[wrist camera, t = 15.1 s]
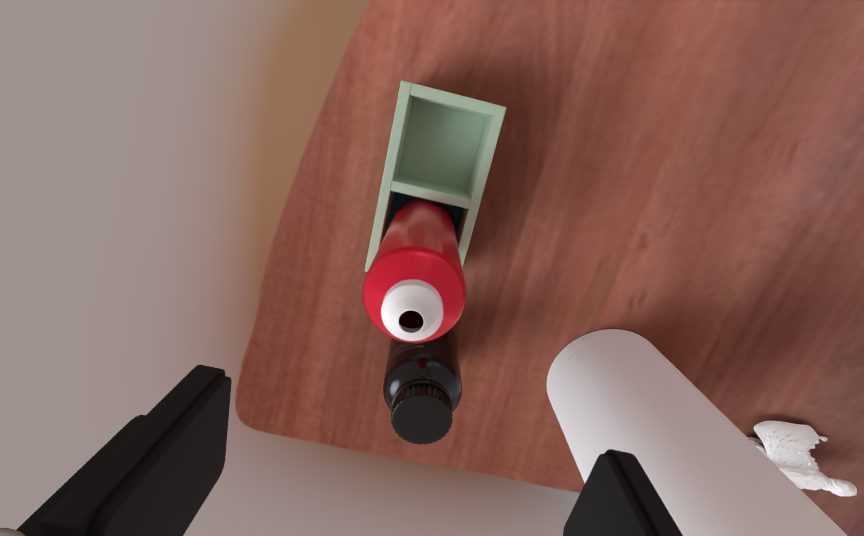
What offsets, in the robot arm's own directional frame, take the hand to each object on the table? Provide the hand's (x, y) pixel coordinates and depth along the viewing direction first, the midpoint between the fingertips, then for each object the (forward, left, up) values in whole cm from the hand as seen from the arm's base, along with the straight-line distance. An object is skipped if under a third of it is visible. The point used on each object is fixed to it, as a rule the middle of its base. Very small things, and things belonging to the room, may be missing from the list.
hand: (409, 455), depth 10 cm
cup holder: (-3, 0, -29) cm, 30 cm away
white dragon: (+18, +43, -30) cm, 55 cm away
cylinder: (+13, +23, -30) cm, 39 cm away
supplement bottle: (+13, +3, -30) cm, 32 cm away
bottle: (+1, 0, -29) cm, 29 cm away
